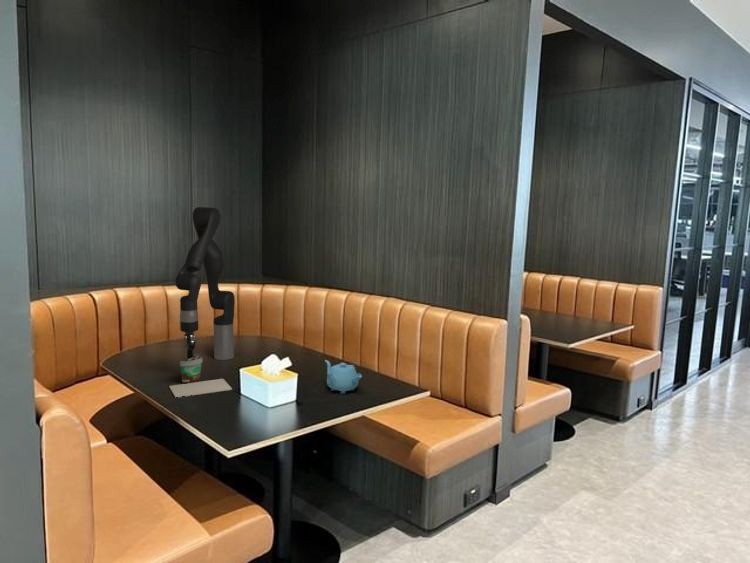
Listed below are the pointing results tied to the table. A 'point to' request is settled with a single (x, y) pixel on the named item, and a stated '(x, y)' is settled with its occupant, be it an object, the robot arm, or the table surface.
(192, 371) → the food container
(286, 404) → the table surface
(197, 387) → the mat
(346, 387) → the teapot
